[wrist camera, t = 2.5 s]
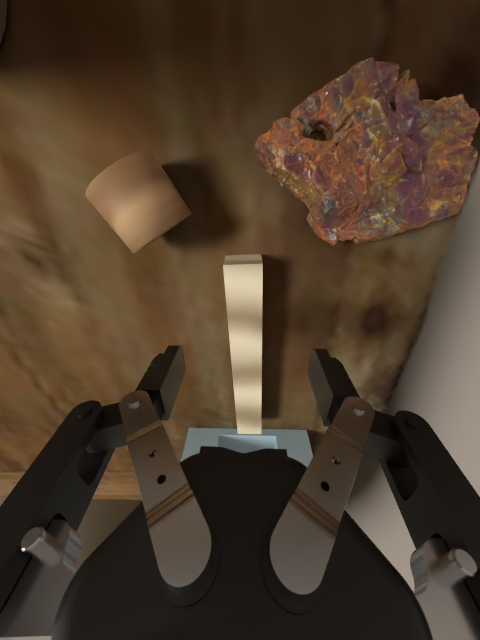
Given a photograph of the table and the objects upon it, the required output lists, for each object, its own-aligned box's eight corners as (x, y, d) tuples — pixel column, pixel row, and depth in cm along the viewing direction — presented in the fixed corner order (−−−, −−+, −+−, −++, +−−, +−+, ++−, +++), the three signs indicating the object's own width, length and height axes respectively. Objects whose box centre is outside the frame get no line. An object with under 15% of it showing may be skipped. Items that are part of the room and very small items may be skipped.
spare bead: (114, 197, 17) (69, 201, 13) (163, 155, 15) (131, 144, 11) (150, 243, 19) (121, 261, 14) (197, 209, 17) (181, 218, 13)
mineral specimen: (277, 272, 18) (275, 246, 11) (257, 181, 18) (244, 103, 12) (442, 230, 16) (560, 168, 9) (417, 128, 16) (516, -5, 9)
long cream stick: (226, 254, 19) (223, 264, 17) (260, 253, 19) (262, 263, 17) (238, 413, 31) (237, 433, 28) (260, 413, 31) (261, 434, 28)
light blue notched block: (189, 427, 32) (156, 562, 21) (306, 429, 32) (340, 569, 20) (195, 456, 36) (171, 582, 25) (299, 458, 36) (324, 588, 24)
